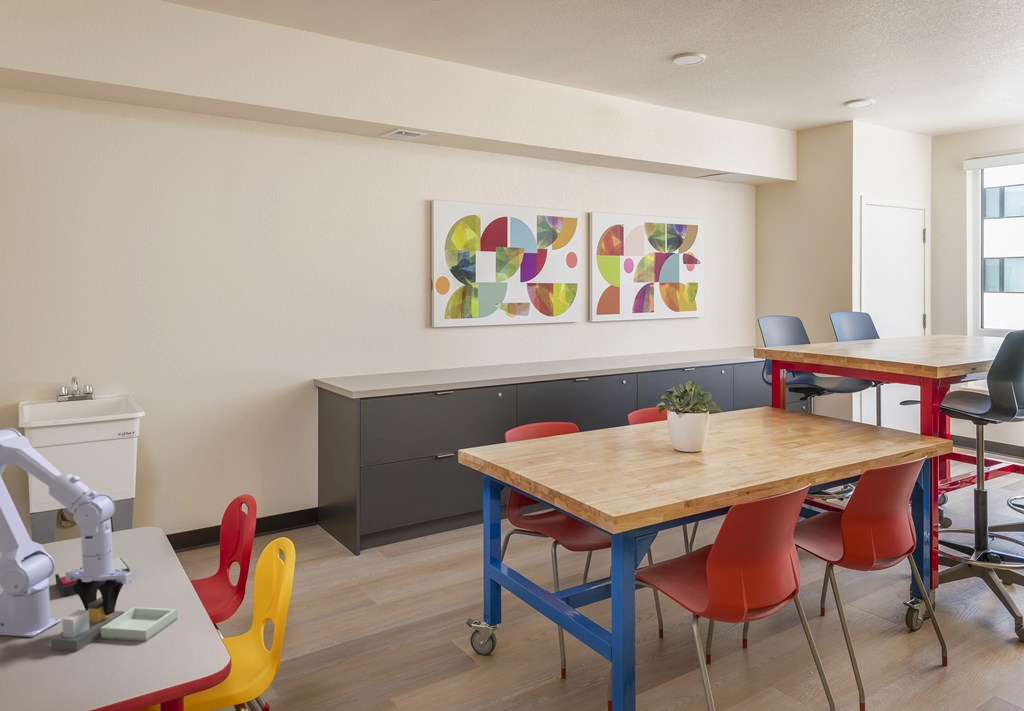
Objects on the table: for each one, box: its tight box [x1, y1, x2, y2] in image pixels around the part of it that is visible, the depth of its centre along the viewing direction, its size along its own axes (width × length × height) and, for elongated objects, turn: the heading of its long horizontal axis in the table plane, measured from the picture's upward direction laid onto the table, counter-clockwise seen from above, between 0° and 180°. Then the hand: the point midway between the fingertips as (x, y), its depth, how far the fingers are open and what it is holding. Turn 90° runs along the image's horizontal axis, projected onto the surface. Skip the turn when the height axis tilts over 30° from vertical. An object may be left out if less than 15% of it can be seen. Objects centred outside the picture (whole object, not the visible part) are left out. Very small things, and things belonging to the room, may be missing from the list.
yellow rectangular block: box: [88, 596, 113, 623], centre depth 155 cm, size 2×4×6 cm, turn 171°
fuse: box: [61, 609, 90, 638], centre depth 148 cm, size 2×4×6 cm, turn 171°
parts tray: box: [100, 606, 178, 642], centre depth 154 cm, size 11×11×2 cm
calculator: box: [54, 557, 132, 598], centre depth 180 cm, size 11×4×15 cm
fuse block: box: [50, 610, 125, 652], centre depth 151 cm, size 6×14×2 cm, turn 171°
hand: (100, 612), depth 155 cm, fingers open, 4 cm apart
